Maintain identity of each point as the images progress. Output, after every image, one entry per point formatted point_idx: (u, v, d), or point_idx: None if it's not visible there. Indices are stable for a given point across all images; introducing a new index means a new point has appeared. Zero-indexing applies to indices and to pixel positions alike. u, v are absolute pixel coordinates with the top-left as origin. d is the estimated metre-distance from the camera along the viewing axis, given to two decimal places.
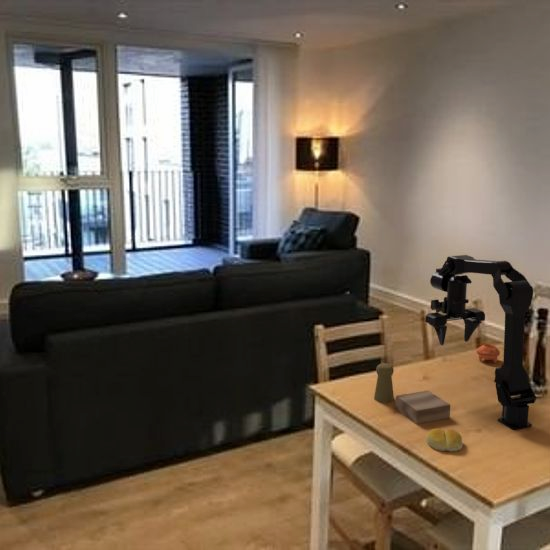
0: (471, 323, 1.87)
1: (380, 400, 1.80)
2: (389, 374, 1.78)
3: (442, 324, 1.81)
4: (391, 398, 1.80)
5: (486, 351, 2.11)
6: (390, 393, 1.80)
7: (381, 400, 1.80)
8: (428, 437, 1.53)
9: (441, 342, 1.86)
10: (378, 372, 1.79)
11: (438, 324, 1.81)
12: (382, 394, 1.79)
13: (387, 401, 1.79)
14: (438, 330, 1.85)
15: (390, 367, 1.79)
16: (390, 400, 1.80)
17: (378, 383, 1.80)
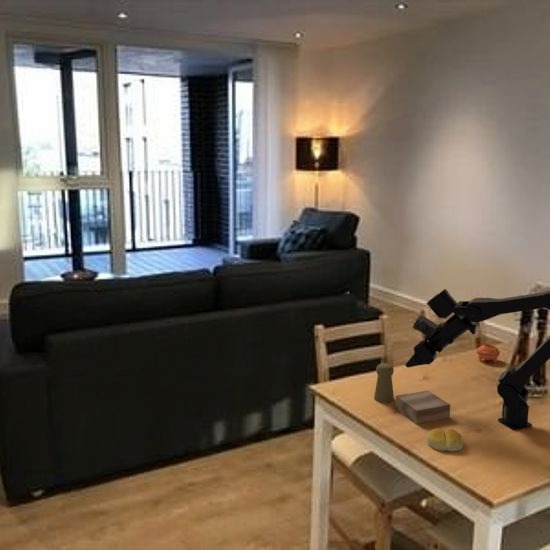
0: None
1: (380, 400, 1.80)
2: (389, 374, 1.78)
3: None
4: (391, 398, 1.80)
5: (486, 351, 2.11)
6: (390, 393, 1.80)
7: (381, 400, 1.80)
8: (428, 437, 1.53)
9: (409, 365, 1.71)
10: (378, 372, 1.79)
11: None
12: (382, 394, 1.79)
13: (387, 401, 1.79)
14: (416, 357, 1.69)
15: (390, 367, 1.79)
16: (390, 400, 1.80)
17: (378, 383, 1.80)
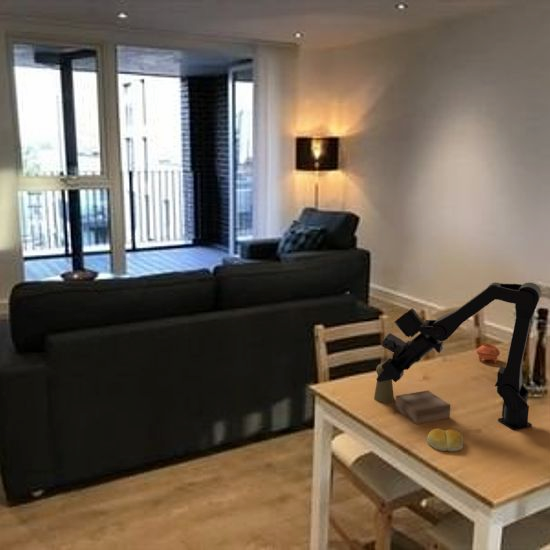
0: None
1: (380, 400, 1.80)
2: None
3: None
4: (391, 398, 1.80)
5: (486, 351, 2.11)
6: (390, 393, 1.80)
7: (381, 400, 1.80)
8: (429, 437, 1.53)
9: (380, 380, 1.78)
10: (378, 372, 1.79)
11: (397, 380, 1.70)
12: (382, 394, 1.79)
13: (387, 401, 1.79)
14: None
15: None
16: (390, 400, 1.80)
17: (378, 383, 1.80)
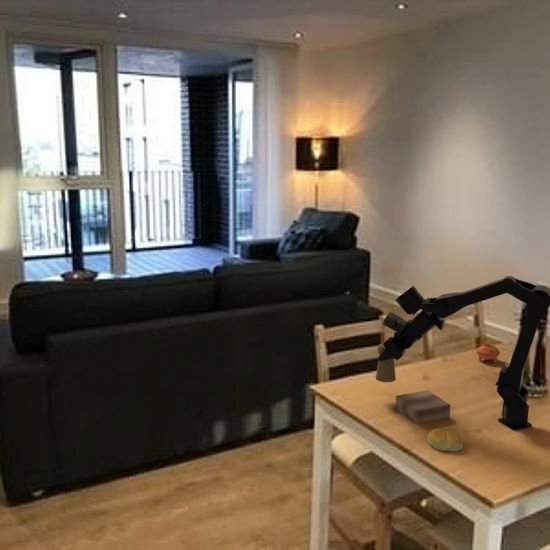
0: None
1: (381, 380, 1.78)
2: None
3: None
4: (393, 378, 1.78)
5: (486, 351, 2.11)
6: (392, 372, 1.78)
7: (383, 380, 1.78)
8: (429, 437, 1.53)
9: (381, 359, 1.77)
10: (379, 351, 1.78)
11: (399, 358, 1.69)
12: (384, 374, 1.78)
13: (389, 381, 1.78)
14: (388, 351, 1.75)
15: None
16: (392, 380, 1.78)
17: (380, 363, 1.79)
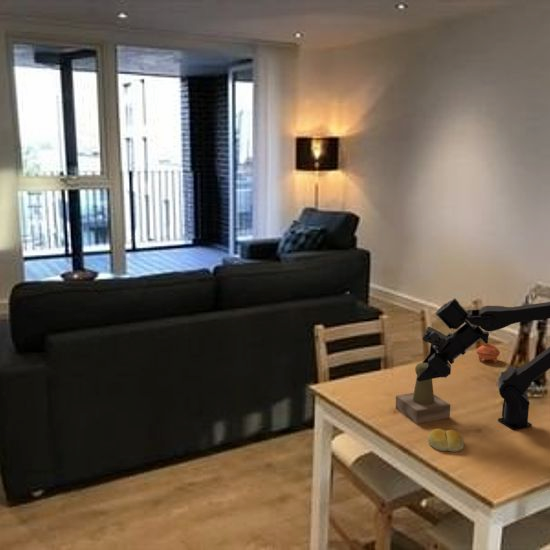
0: None
1: (421, 402, 1.68)
2: None
3: None
4: (432, 399, 1.69)
5: (486, 351, 2.11)
6: (431, 394, 1.69)
7: (423, 402, 1.68)
8: (429, 437, 1.53)
9: (421, 379, 1.65)
10: (419, 372, 1.68)
11: None
12: (424, 396, 1.68)
13: (429, 403, 1.68)
14: (429, 370, 1.63)
15: None
16: (432, 401, 1.69)
17: (419, 384, 1.69)
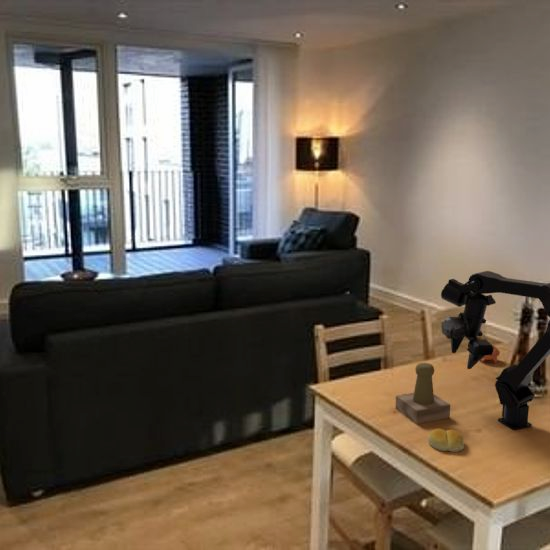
0: None
1: (421, 402, 1.68)
2: (431, 374, 1.67)
3: None
4: (432, 399, 1.69)
5: None
6: (432, 394, 1.69)
7: (423, 402, 1.68)
8: (430, 437, 1.53)
9: (471, 366, 1.71)
10: (419, 372, 1.68)
11: None
12: (424, 396, 1.68)
13: (429, 403, 1.68)
14: (474, 356, 1.69)
15: (431, 366, 1.68)
16: (432, 401, 1.69)
17: (419, 384, 1.69)
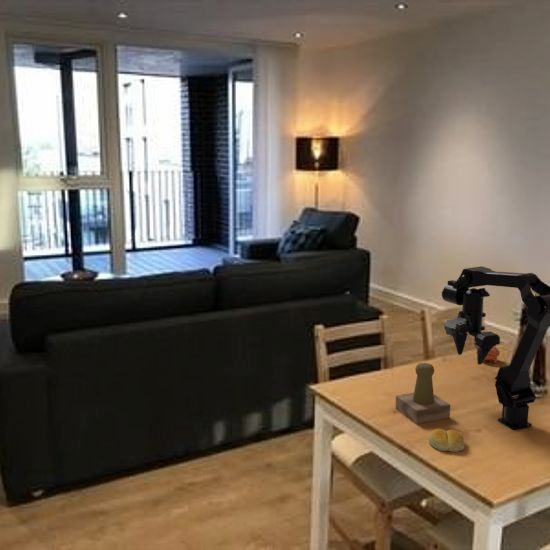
0: (464, 333, 1.82)
1: (421, 402, 1.68)
2: (431, 374, 1.67)
3: None
4: (432, 399, 1.69)
5: None
6: (432, 394, 1.69)
7: (423, 402, 1.68)
8: (430, 437, 1.53)
9: (482, 361, 1.73)
10: (419, 372, 1.68)
11: None
12: (424, 396, 1.68)
13: (429, 403, 1.68)
14: (482, 350, 1.72)
15: (431, 366, 1.68)
16: (432, 401, 1.69)
17: (419, 384, 1.69)
